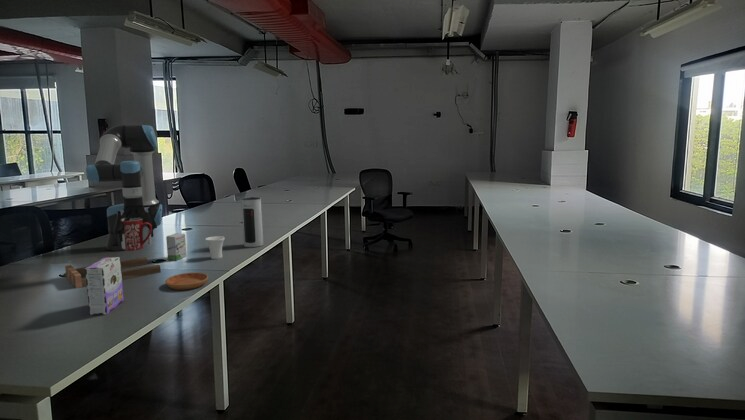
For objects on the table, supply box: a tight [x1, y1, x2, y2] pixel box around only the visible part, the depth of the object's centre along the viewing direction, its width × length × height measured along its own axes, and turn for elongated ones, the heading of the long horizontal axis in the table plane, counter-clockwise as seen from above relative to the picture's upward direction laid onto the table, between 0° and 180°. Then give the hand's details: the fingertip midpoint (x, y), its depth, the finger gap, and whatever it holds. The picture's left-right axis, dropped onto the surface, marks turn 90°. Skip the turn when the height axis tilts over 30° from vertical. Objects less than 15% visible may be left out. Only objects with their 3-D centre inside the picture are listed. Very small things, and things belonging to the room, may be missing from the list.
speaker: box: [240, 196, 264, 248], centre depth 257 cm, size 11×10×26 cm
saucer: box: [165, 272, 209, 291], centre depth 191 cm, size 16×16×3 cm
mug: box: [120, 217, 152, 252], centre depth 210 cm, size 13×9×14 cm
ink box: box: [165, 232, 188, 262], centre depth 232 cm, size 8×5×12 cm, turn 167°
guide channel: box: [64, 256, 161, 289], centre depth 205 cm, size 20×32×5 cm, turn 132°
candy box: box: [85, 256, 125, 316], centre depth 165 cm, size 14×6×16 cm, turn 5°
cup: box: [204, 235, 225, 260], centre depth 233 cm, size 9×9×10 cm
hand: (137, 246), depth 211 cm, fingers closed on mug, 10 cm apart
